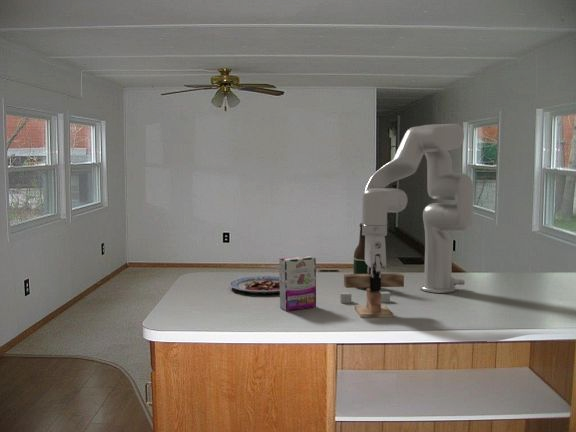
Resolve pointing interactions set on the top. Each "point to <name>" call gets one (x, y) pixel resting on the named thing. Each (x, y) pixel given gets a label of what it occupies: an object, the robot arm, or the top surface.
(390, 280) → the walnut bar
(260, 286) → the ceramic plate
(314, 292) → the candy bar box
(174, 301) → the top surface
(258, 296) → the top surface
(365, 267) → the beer bottle
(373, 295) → the fulcrum
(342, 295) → the grey cubes
